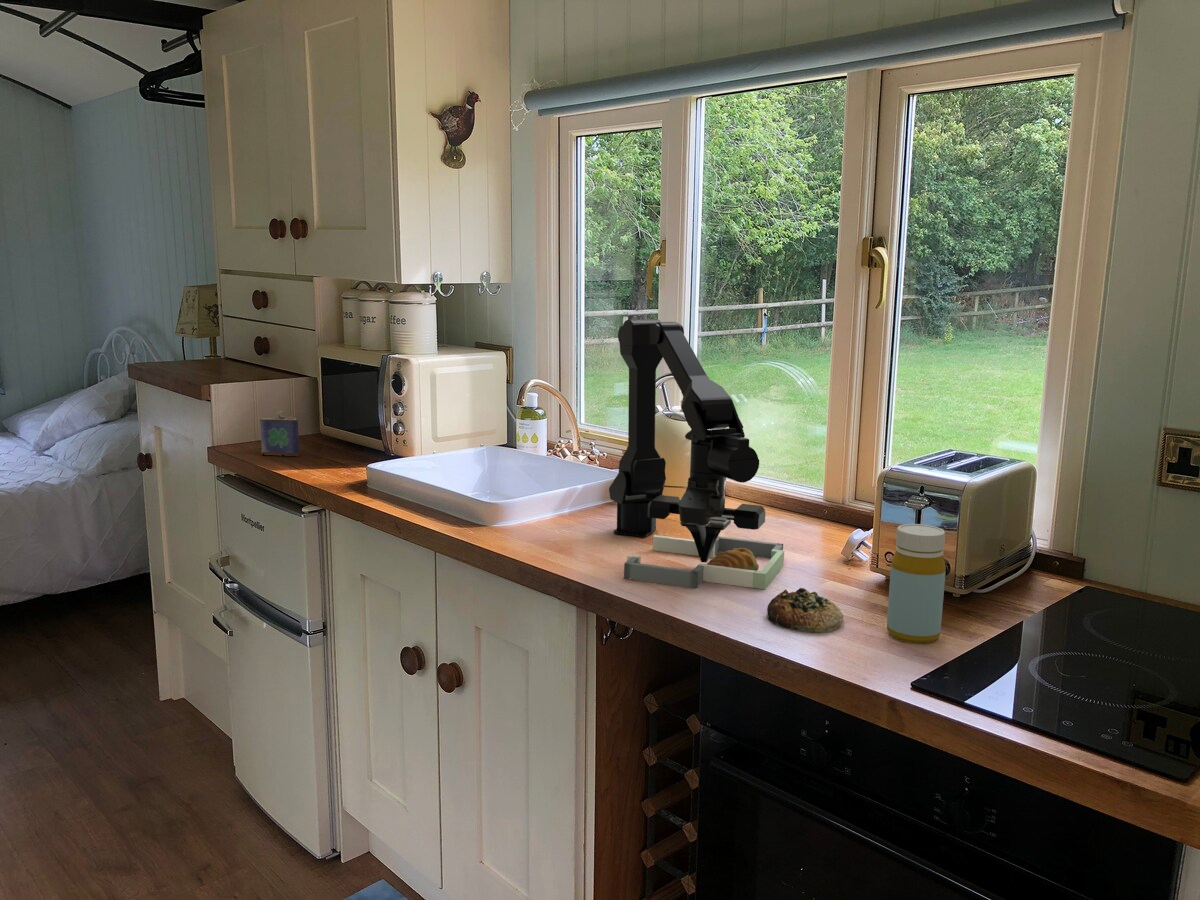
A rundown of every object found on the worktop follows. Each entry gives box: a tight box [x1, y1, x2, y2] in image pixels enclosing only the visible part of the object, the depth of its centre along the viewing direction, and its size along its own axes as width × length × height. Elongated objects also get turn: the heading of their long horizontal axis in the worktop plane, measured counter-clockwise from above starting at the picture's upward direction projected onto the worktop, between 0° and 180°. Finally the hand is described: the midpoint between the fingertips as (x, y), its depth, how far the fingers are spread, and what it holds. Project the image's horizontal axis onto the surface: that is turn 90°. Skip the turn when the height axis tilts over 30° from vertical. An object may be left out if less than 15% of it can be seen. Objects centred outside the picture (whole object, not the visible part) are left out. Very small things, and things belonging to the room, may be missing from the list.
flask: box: [259, 410, 301, 453], centre depth 253 cm, size 10×3×12 cm, turn 84°
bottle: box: [886, 523, 947, 645], centre depth 134 cm, size 7×7×15 cm
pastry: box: [706, 548, 760, 571], centre depth 162 cm, size 9×7×4 cm
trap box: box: [623, 534, 785, 590], centre depth 164 cm, size 23×22×2 cm
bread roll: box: [766, 587, 844, 634], centre depth 141 cm, size 11×11×5 cm
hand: (704, 561), depth 165 cm, fingers closed
